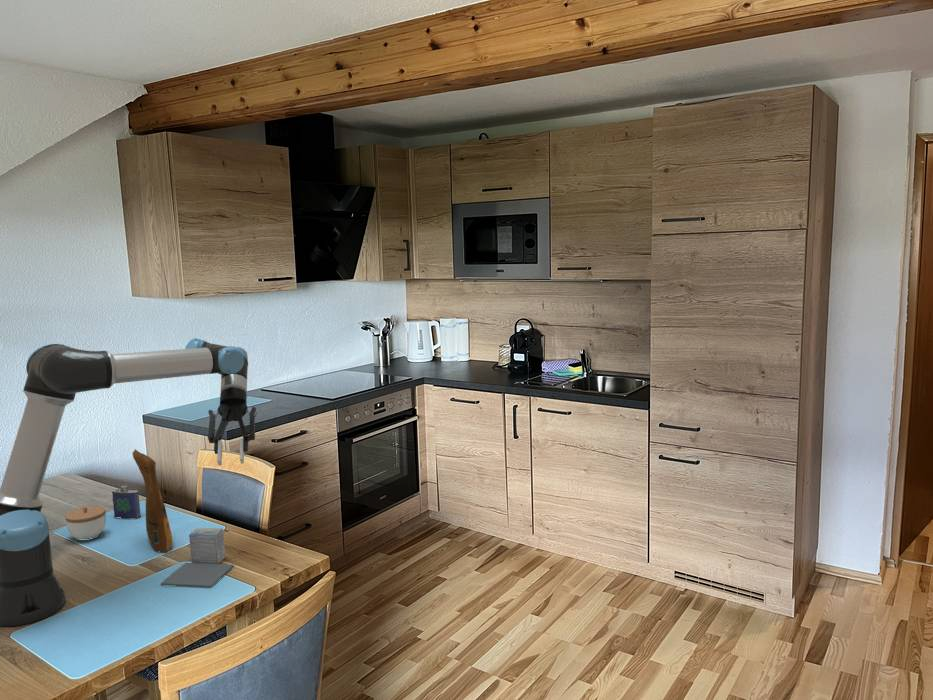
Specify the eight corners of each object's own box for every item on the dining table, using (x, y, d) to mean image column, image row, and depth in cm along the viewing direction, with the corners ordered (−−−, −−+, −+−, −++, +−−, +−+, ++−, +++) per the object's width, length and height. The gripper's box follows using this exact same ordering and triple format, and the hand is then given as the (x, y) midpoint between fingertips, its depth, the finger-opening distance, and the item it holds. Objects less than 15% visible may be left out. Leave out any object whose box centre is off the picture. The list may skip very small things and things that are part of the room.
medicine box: (225, 557, 194) (223, 527, 193) (218, 564, 190) (216, 534, 189) (198, 556, 195) (196, 527, 194) (191, 564, 191) (188, 534, 190)
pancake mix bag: (151, 558, 195) (142, 462, 191) (139, 536, 211) (131, 447, 206) (177, 552, 199) (168, 457, 195) (163, 531, 214) (155, 443, 210)
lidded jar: (115, 531, 215) (112, 502, 214) (88, 545, 205) (85, 515, 203) (87, 528, 218) (84, 500, 216) (59, 542, 208) (55, 512, 206)
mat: (211, 587, 176) (211, 585, 176) (160, 585, 179) (160, 583, 179) (233, 566, 188) (233, 564, 188) (186, 564, 190) (185, 562, 190)
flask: (142, 516, 227) (139, 484, 226) (136, 519, 224) (133, 487, 223) (117, 514, 229) (114, 483, 227) (111, 518, 226) (108, 486, 224)
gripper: (266, 398, 213) (265, 465, 199) (203, 402, 209) (198, 471, 196) (263, 384, 207) (262, 452, 193) (199, 388, 203) (193, 458, 190)
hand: (230, 462), depth 194 cm, fingers open, 5 cm apart
